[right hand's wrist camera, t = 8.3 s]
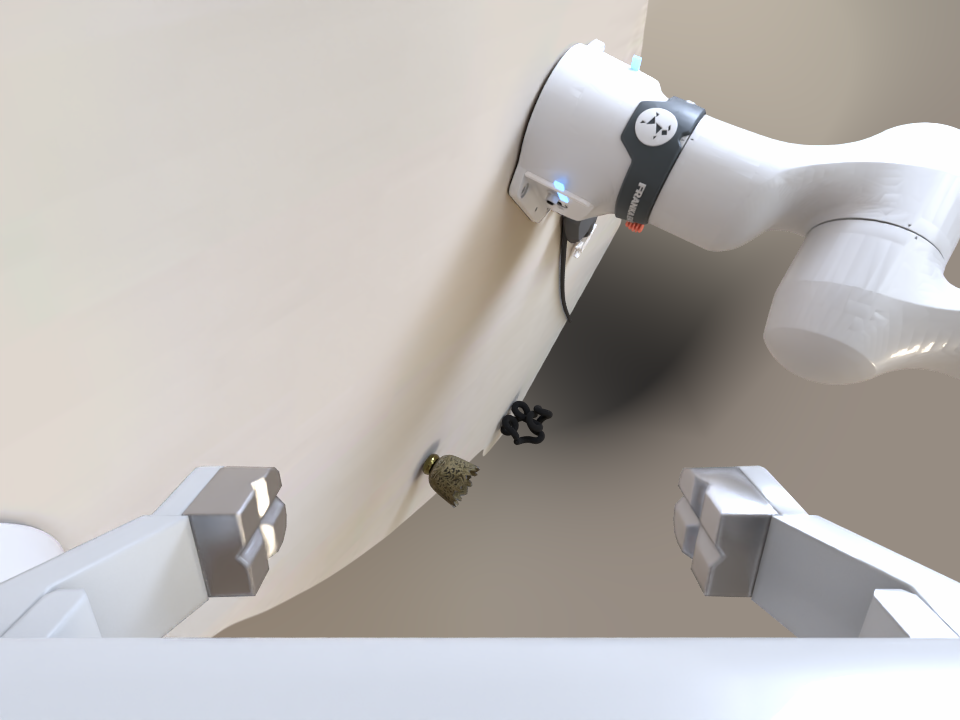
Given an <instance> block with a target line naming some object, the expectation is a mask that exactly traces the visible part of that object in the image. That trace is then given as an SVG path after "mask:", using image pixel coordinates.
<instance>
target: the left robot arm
mask: <svg viewBox="0 0 960 720" xmlns="http://www.w3.org/2000/svg"><path fill="white" fill-rule="evenodd" d="M604 48H605V45H604V43H602V42H600V41H599V40H597V39H596V40H594V41H592V42H591V43H590V44H589V45H587V46H586V45H583V44H581V43H579V44H576V45H574V46H573V47H571V48H570V49H569V50H568V51H567V52H566V53H565V54H564V56H563V57H562V58H561V59H560V61H559V62H558V64H557V65H556V67H555V68H554V70H553V71H552V73H551V75H550V77H549V78H548V80H547V82H546V84H545V86H544V88H543V90H542V92H541V94H540V96H539V98H538V101H537V103H536V105H535V108H534V110H533V113H532V115H531V118H530V121H529V124H528V127H527V130H526V133H525V137H524V141H523V145H522V149H521V154H520V158H519V162H518V166H517V168H516V171H515V174H514V176H513V179H512V182H511V185H510V189H509V195H510V196H511V197H512V198H513V200H514V201H515V202H516V203H517V204H518V205H519V207H520V208H521V209H522V210H523V211H524V212H525V214H526V215H527V216H528V217H529V218H530V219H531V221H534V222H536V223H539V222H540V221H541V220H542V219H543V218H544V217H545V216H546V214H547V213H548V212H549V210H550V209H551V210H553V211H555V212H557V213H559V214H561V215H563V220H564V219H565V218H566V217H568V218H571V219H573V220H576V221H581V220H584V219H588V218H592V217H597V216H601V215H605V214H615V216H616V217H617V218H621V219H625V220H627V222H626V227H629V229H632V231H633V230H635V232H637V231H638V232H641V231H642V229H643V227H644V225H645V224H647V223H650V224H652V225H654V226H656V227H659V228H661V229H663V230H665V231H667V232H669V233H671V234H674V235H676V236H678V237H680V238H682V239H684V240H687V241H689V242H691V243H693V244H695V245H697V246H700V247H702V248H704V249H706V250H710V251H726V250H731V249H735V248H737V247H740V246H742V245H744V244H746V243H747V242H749V241H751V240H752V239H754V238H756V237H757V236H759V235H760V234H762V233H763V232H765V231H770V230H781V231H788V232H792V233H796V234H798V235H801V236H803V237H804V238H805V240H804V242H803V243H802V245H801V247H800V249H799V251H798V252H797V254H796V256H795V258H794V260H793V262H792V263H791V265H790V267H789V269H788V270H787V272H786V274H785V276H784V278H783V279H782V281H781V283H780V285H779V287H778V288H777V290H776V292H775V295H774V298H773V302H772V305H771V308H770V312H769V315H768V319H767V323H766V327H765V331H764V335H763V337H764V341H765V343H766V346H767V347H768V349H769V351H770V353H771V354H772V355H773V357H774V358H775V359H776V360H777V361H778V362H779V363H780V364H781V365H782V366H783V367H784V368H786V369H787V370H789V371H790V372H792V373H793V374H795V375H797V376H799V377H801V378H804V379H806V380H809V381H813V382H817V383H822V384H830V385H844V384H853V383H858V382H863V381H866V380H869V379H872V378H874V377H876V376H879V375H881V374H884V373H887V372H891V371H895V370H902V369H925V370H932V371H936V372H940V373H943V374H946V375H949V376H951V377H953V378H956V379H958V380H960V289H959V288H956V287H955V286H953V285H951V284H950V283H949V282H948V281H947V280H946V279H945V277H944V276H943V272H944V269H945V266H946V264H947V262H948V260H949V258H950V256H951V254H952V252H953V250H954V248H955V246H956V244H957V243H958V241H959V239H960V130H959V129H956V128H954V127H951V126H947V125H942V124H936V123H914V124H907V125H902V126H898V127H894V128H891V129H888V130H886V131H884V132H881V133H879V134H877V135H875V136H873V137H870V138H867V139H864V140H861V141H857V142H853V143H848V144H841V145H828V146H812V145H799V144H791V143H786V142H782V141H777V140H773V139H770V138H767V137H764V136H761V135H758V134H756V133H753V132H750V131H747V130H744V129H741V128H738V127H736V126H733V125H730V124H728V123H725V122H722V121H720V120H717V119H714V118H712V117H710V116H707V115H706V111H705V109H703V108H701V107H699V106H697V105H695V103H693V102H691V101H685V100H683V99H680V98H678V97H675V96H673V97H671V98H670V99H668V98H667V97H665V95H664V94H663V93H662V92H661V88H660V85H659V83H658V82H657V81H656V80H655V79H653V78H652V77H650V76H648V75H646V74H644V73H642V72H640V71H639V67H640V63H641V59H642V58H641V57H638V56H635V55H634V57H633V60H632V65H631V66H629V65H627V64H625V63H623V62H621V61H619V60H617V59H615V58H613V57H611V56H609V55H607V54H605V53H604ZM566 247H567V238H566V234H565V229H564V222H563V233H562V251H561V273H560V287H561V299H562V304H563V308H564V311H565V314H566V316H567V318H568V321H569V322H571V318H570V315H569V313H568V310H567V307H566V302H565V292H564V279H565V261H566Z"/></svg>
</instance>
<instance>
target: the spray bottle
mask: <svg viewBox="0 0 960 720" xmlns="http://www.w3.org/2000/svg"><path fill="white" fill-rule="evenodd" d="M597 217H598V216H597ZM597 217H592V218H588V219H584V220H581V221H576V220H573V219H571V218H568V217H566V218H565V219H564V220H563V222H564V229H565V234H566V238H567V240H568V241H569V242H570V243H575V242H578V245H577V246H576V248H575V249H576V251H575V253H574V255H573V256H574V257H575V258H578V257H579V255H580V253H581V252H582V251H583V250H584V248H585V246H586V244H587V243H588V241H589V239H590V237H591V235H592V233H593V232H594V230H595V227H596V224H595V222H596V219H597Z"/></svg>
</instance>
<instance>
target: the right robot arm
mask: <svg viewBox="0 0 960 720" xmlns="http://www.w3.org/2000/svg"><path fill="white" fill-rule="evenodd" d="M281 486H282V484H281V479H280V474H279V471H278V470H277V469H276V468H275V467H240V466H226V467H224V466H201V467H197V468H195V469H194V470H193V471H192V472H191V473H190V474H189V475H188V476H187V477H186V478H185V480H184V481H183V482H182V483H181V484H180V485H179V486H178V487H177V488H176V489H175V490H174V491H173V492H172V494H171V495H170V496H169V497H168V498H167V499H166V500H165V501H164V502H163V503H162V504H161V505H160V506H159V507H158V509H157V510H156V511H155V512H154V513H153V514H152V515H143V516H141V517H138V518H136V519H134V520H132V521H130V522H128V523H126V524H124V525H122V526H119V527H117V528H115V529H113V530H111V531H109V532H107V533H105V534H103V535H100V536H98V537H96V538H94V539H92V540H90V541H88V542H86V543H84V544H81V545H79V546H77V547H75V548H73V549H71V550H69V551H67V552H64V550H63V548H62V546H61V545H60V544H59V542H58V541H57V540H56V539H55V538H54V537H52V536H51V535H49V534H48V533H46V532H44V531H42V530H40V529H37V528H34V527H30V526H26V525H20V524H13V523H0V720H960V583H958V582H956V581H954V580H952V579H950V578H948V577H946V576H944V575H942V574H940V573H937V572H935V571H933V570H931V569H929V568H927V567H925V566H923V565H920V564H918V563H916V562H914V561H912V560H910V559H908V558H906V557H904V556H902V555H899V554H897V553H895V552H893V551H891V550H889V549H887V548H885V547H883V546H881V545H878V544H876V543H874V542H872V541H870V540H868V539H866V538H864V537H862V536H859V535H857V534H855V533H853V532H851V531H849V530H847V529H845V528H843V527H840V526H838V525H836V524H834V523H832V522H830V521H828V520H826V519H824V518H822V517H819V516H815V515H808V514H807V513H806V512H805V511H804V510H803V509H802V507H801V506H800V505H799V504H798V503H797V502H796V501H795V500H794V499H793V498H792V497H791V496H790V495H789V494H788V492H787V491H786V490H785V489H784V488H783V487H782V486H781V485H780V484H779V483H778V482H777V481H776V480H775V478H774V477H773V476H772V475H771V474H770V473H769V472H768V471H767V470H766V469H765V468H763V467H761V466H737V467H707V468H683V470H682V472H681V474H680V478H679V484H678V486H679V488H680V490H681V491H682V493H683V495H684V496H683V497H682V498H681V499H680V500H679V501H678V502H677V503H676V504H675V509H674V517H673V521H674V532H675V536H676V539H677V543H678V545H679V547H680V549H681V551H682V552H683V553H684V554H686V555H687V556H689V557H690V558H692V559H693V560H692V565H691V570H692V572H693V574H694V576H695V578H696V580H697V582H698V584H699V586H700V587H701V589H702V591H703V593H704V595H705V596H724V597H752V598H751V600H753V601H754V602H755V603H756V604H758V605H759V606H760V607H761V608H762V609H764V610H765V611H766V612H767V613H769V614H770V615H771V616H772V617H773V618H775V619H776V620H777V621H778V622H780V623H781V624H782V625H783V626H785V627H786V628H787V629H788V630H789V631H791V632H792V633H793V634H794V635H796V636H797V637H798V638H162V637H163V636H165V635H166V634H167V633H168V632H169V631H171V630H172V629H173V628H174V627H176V626H177V625H178V624H179V623H181V622H182V621H183V620H184V619H185V618H187V617H188V616H189V615H190V614H192V613H193V612H194V611H195V610H197V609H198V608H199V607H200V606H201V605H203V604H204V603H205V602H206V601H208V600H209V598H208V597H235V596H255V595H256V593H257V591H258V589H259V588H260V586H261V584H262V582H263V580H264V578H265V576H266V574H267V572H268V570H269V565H268V560H267V559H268V558H270V557H271V556H273V555H274V554H276V553H277V552H278V551H279V549H280V547H281V545H282V543H283V540H284V535H285V531H286V508H285V504H284V503H283V502H282V501H281V500H280V499H279V498H278V497H277V496H276V495H277V493H278V491H279V490H280V488H281Z"/></svg>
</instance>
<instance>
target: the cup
mask: <svg viewBox="0 0 960 720" xmlns="http://www.w3.org/2000/svg"><path fill="white" fill-rule="evenodd" d="M422 471H423V472H424V474H427V475H429V483H430V486H431V487H432V488H433V490H434V491H435V492H436V493H437V494H439V495H440V496H441V497H442V498H443V499H444V500H446V501H447V502H448V503H449V504H451V505H452V506H453V507H454V506H455V507H456V505H458V501H457V500H459V501H461V499H462V498H461V496H462V495H466V494H467V492H468V487H471V486H472V482H471V481H469V479H470V478H471V476H476V475H477V473H476V472H477V471H479V467H477V466H475V465H473V464H471V463H469V462H467V461H465V460H463V459H461V458H459V457H456V456H453V455H445V456H442V457H441V458H439V456H438V455H437V454H431V455H430V456H429V457H428V458H427V459H426V461H425V463H424V465H423V467H422ZM456 499H457V500H456Z"/></svg>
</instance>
